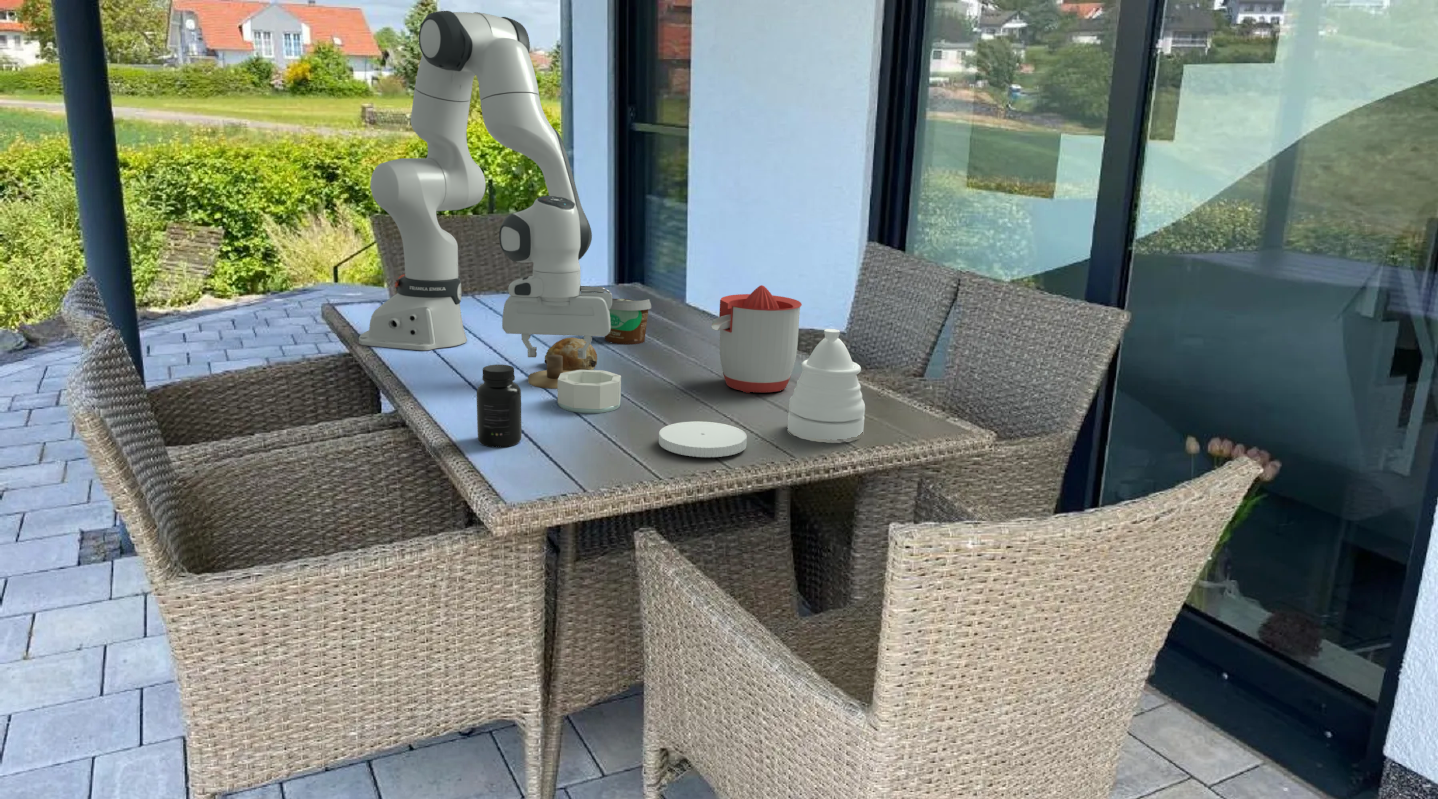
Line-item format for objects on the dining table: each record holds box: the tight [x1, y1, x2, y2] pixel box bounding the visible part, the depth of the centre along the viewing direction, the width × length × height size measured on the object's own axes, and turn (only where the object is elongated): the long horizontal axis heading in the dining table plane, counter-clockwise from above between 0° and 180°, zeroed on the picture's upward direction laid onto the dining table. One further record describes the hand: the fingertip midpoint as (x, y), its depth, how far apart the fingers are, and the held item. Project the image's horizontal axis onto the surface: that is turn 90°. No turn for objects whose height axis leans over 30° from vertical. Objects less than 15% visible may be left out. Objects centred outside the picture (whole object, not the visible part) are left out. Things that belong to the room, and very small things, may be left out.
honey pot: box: [787, 328, 866, 440], centre depth 181 cm, size 13×13×18 cm
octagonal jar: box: [557, 369, 622, 414], centre depth 192 cm, size 11×11×5 cm
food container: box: [604, 298, 652, 345], centre depth 241 cm, size 12×6×10 cm, turn 68°
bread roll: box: [544, 337, 598, 371], centre depth 218 cm, size 10×10×8 cm
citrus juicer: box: [710, 285, 803, 394], centre depth 207 cm, size 16×17×20 cm
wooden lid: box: [527, 355, 570, 390], centre depth 206 cm, size 10×10×5 cm
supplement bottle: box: [476, 364, 522, 448], centre depth 168 cm, size 7×7×12 cm
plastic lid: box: [658, 420, 748, 458], centre depth 172 cm, size 14×14×2 cm
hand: (557, 357), depth 205 cm, fingers open, 8 cm apart
